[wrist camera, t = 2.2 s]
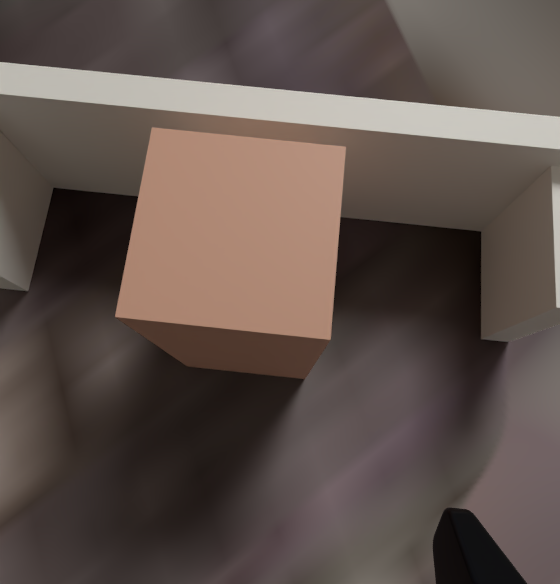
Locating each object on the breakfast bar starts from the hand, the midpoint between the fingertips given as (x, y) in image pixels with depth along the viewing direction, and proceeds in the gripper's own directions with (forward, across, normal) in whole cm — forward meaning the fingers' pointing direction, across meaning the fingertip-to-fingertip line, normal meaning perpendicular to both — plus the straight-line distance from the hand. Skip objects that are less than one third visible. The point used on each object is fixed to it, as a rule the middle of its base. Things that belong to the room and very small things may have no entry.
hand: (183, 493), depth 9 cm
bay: (+15, 0, +2) cm, 15 cm away
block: (+13, 0, +4) cm, 13 cm away
